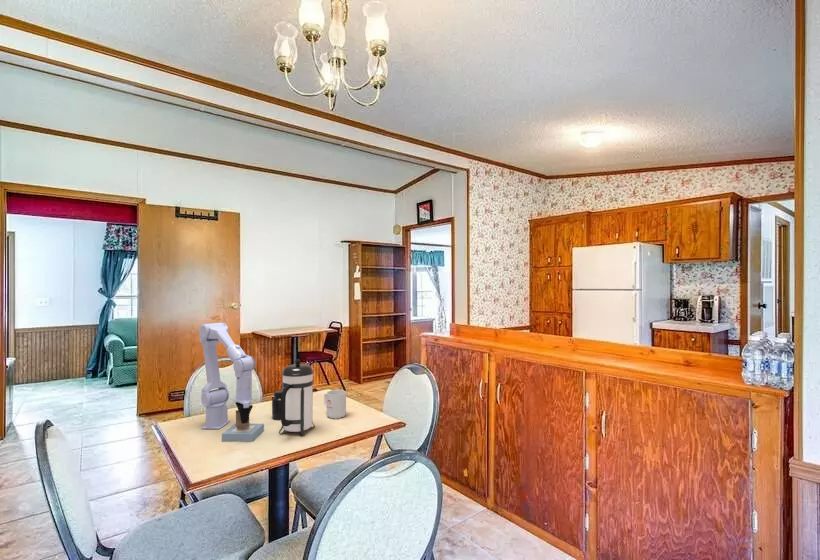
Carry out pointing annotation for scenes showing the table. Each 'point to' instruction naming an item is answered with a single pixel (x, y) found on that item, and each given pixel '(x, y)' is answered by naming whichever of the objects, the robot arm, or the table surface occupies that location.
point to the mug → (335, 403)
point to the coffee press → (297, 398)
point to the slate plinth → (243, 433)
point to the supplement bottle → (276, 405)
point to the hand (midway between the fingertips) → (243, 421)
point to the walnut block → (238, 421)
